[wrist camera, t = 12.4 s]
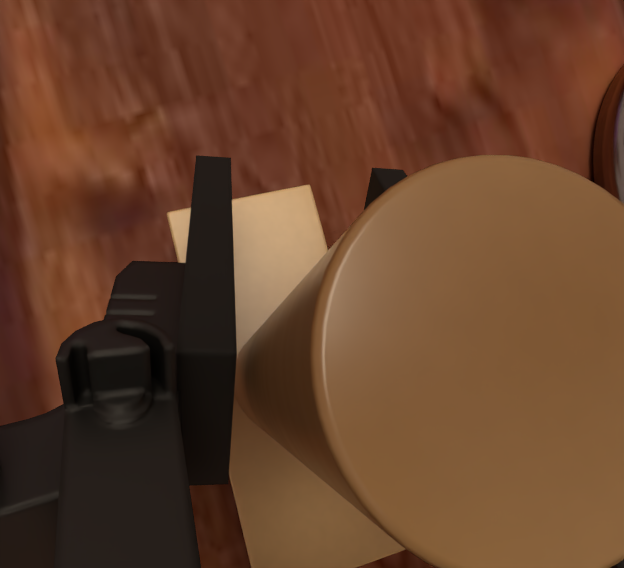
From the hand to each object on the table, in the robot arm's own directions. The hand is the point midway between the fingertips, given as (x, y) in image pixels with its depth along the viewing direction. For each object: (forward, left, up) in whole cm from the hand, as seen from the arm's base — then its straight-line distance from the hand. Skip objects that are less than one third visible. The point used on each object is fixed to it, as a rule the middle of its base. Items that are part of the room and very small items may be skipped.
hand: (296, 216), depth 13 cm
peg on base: (-4, +1, -5) cm, 6 cm away
